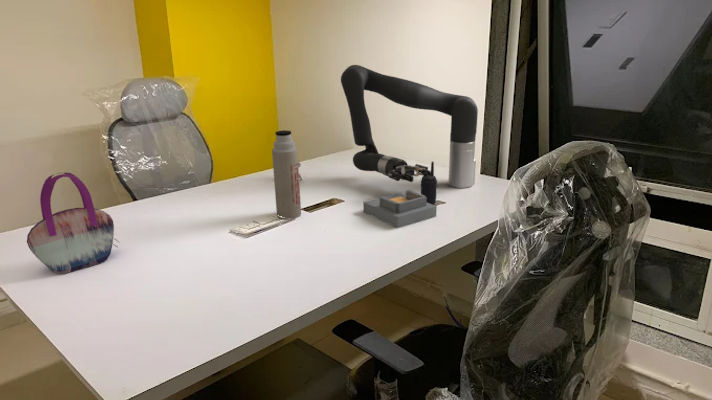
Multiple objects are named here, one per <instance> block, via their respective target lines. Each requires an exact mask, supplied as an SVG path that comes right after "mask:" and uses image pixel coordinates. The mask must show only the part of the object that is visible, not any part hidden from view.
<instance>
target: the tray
mask: <svg viewBox="0 0 712 400" xmlns="http://www.w3.org/2000/svg"><path fill="white" fill-rule="evenodd" d="M426 201H427V197H425V195H422V194H421V193H419V192H416V191H413V190H411V189H406V190H405V193H402V192H397V193H393V194H390V195H389V194H388V195H386V196H379V197H377V198H374V199H370V200H366V201H363V205H362V206H363V207H362V208H363V213H365V214H367V215H369V214H370V215H369V216H371V215H372V217H373V216H374V218H376V219H378V220H380V221H382V222H384V223H387V224H389V225H391V226H393V227H394V228H395V227H396V228H397V229H399V228H402V227H406V226H409V225H411V224H412V225H413V224H416V223H419V222H422V221H425V220H428V219H431V218H436V217H437V207H438V206H437V205H435V204H430V203H427V202H426Z"/></svg>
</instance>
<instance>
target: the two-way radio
mask: <svg viewBox="0 0 712 400" xmlns="http://www.w3.org/2000/svg"><path fill="white" fill-rule="evenodd" d="M430 171H431V175H427V172H424V176H423V175H422V177H421V180H420V194H422V195H425V197H427V201H426V202H427V203H430V204H432V205H435V204H436V203H437V191H438V190H437V188H438V179H437V176H436V175H435V163H434V161H431V165H430Z"/></svg>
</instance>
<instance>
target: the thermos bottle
mask: <svg viewBox="0 0 712 400" xmlns="http://www.w3.org/2000/svg"><path fill="white" fill-rule="evenodd" d="M274 135H275V139H276V140H275V141H274V142H273V145H272V146H273V148H272V149H271V152H272V153H271V155H272V169H273V181H274V182H273V183H274V193H275V194H274V195H275V207H276V208H275V209H276V216H277V215H279V216H282V217H285V218H292V219H291V220H293V219H297V218H300V217H301V215H302V207H301V189H300V178H299V174H300V171H299V167H298V162H299V154H298V148H297V147H296V142H295V140H293V138H292V131H291V130H286V129H285V130H284V129H283V130H278V131H275V134H274Z"/></svg>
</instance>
